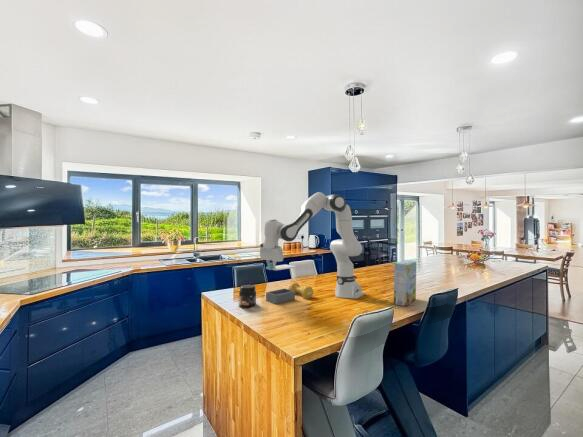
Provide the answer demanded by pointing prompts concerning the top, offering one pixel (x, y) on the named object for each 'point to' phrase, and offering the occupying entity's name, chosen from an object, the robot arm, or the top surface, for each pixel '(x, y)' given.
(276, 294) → the tub
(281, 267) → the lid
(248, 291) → the supplement container
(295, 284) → the dumbbell
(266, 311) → the top surface
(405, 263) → the snack box
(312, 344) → the top surface
